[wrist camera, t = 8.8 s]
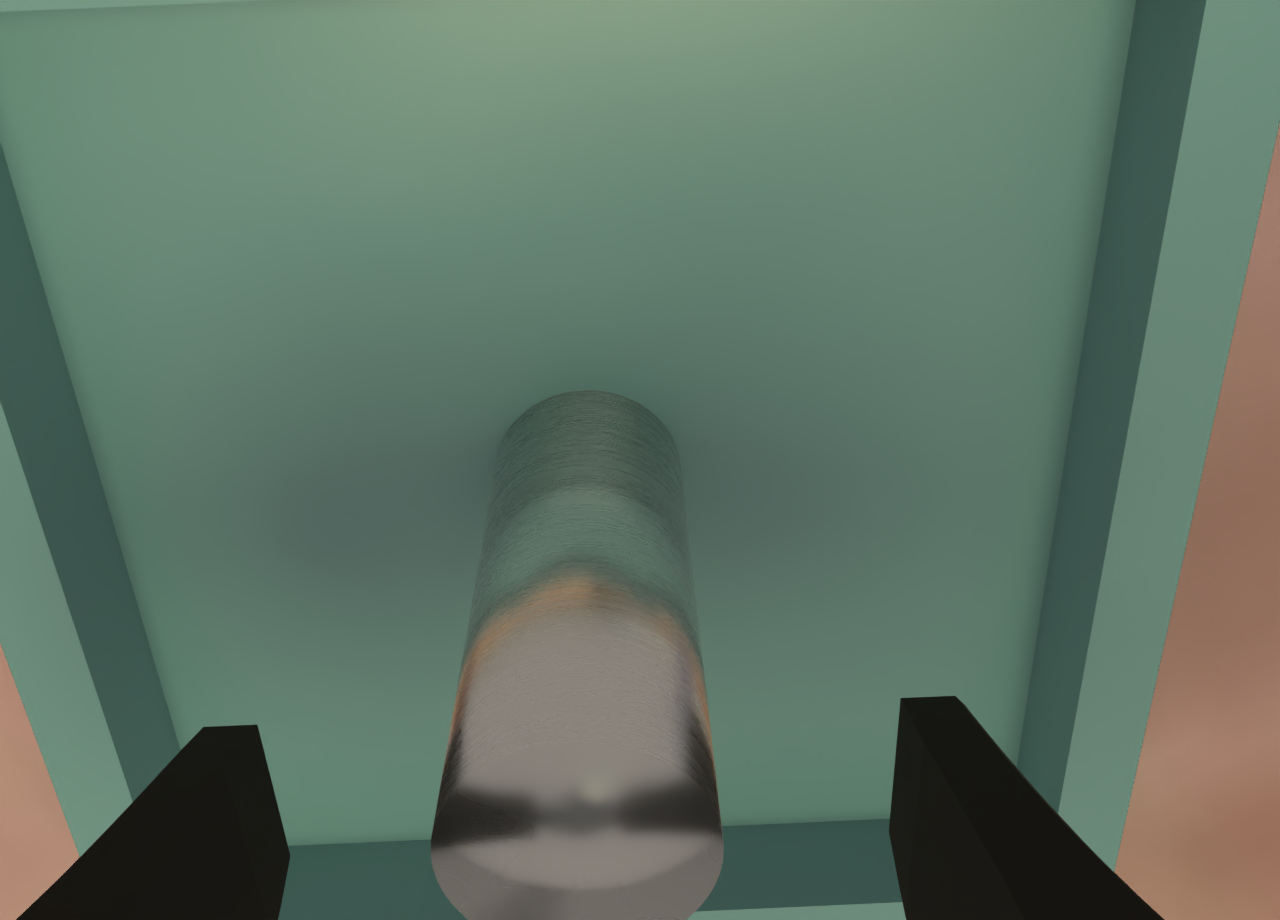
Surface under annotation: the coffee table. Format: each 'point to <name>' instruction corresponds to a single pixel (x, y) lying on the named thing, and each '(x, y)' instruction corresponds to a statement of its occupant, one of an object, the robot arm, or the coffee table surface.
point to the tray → (613, 382)
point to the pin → (581, 683)
